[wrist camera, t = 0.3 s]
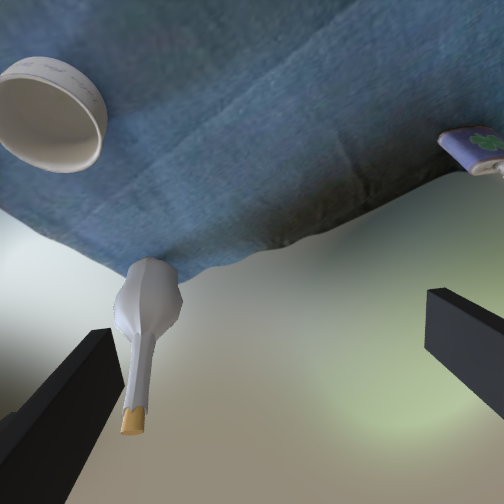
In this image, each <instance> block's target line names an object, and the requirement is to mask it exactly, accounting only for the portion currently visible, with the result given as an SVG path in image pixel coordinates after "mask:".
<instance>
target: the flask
mask: <svg viewBox="0 0 504 504" xmlns="http://www.w3.org/2000/svg"><path fill="white" fill-rule="evenodd" d="M441 136H442V137H441ZM439 137H440V138H439V139H438V141H437V142H438V143H439V145H440V146H442V147H443V149H445V150H446V151H447V152H448V153H449V154H450V155H452V156H453V158H454V159H456V160H457V161H458V162H459V163H460V164H461V165H462V166H463V167H464V168H465V169H466V170H467V171H468V172H469V173H470V174H471V175H472V176H478V175H484V174H492V173H501V174H504V139H503V138H502V137H501V136H500V135H498V134H497V133H496V132H495V131H494V130H493V129H491V128H489V127H483V126H482V127H480V126H472V127H463V128H456V129H451V130H447V131H445V132H443V133H442V134H441V135H440V136H439ZM503 178H504V175H503Z"/></svg>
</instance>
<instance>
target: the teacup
mask: <svg viewBox="0 0 504 504" xmlns="http://www.w3.org/2000/svg"><path fill="white" fill-rule="evenodd" d="M107 124H108V115H107V109H106V105H105V102H104V100H103V98H102V96H101V94H100V92H99V91H98V89H97V88H96V87H95V85H94V84H93V83H92V82H91V81H90V80H89V79H88V78H87V77H86V76H85V75H84V74H83V73H81V72H80V71H79V70H77V69H76V68H74V67H72V66H71V65H69V64H67V63H65V62H62V61H59V60H57V59H53V58H48V57H29V58H25V59H22V60H20V61H18V62H16V63H14V64H13V65H11V66H10V67H9V68H8V69H7V70H5V71H4V72H3V73H2V74H1V75H0V142H1V144H2V145H3V146H4V147H5V148H6V149H7V150H9V151H10V152H11V153H12V154H14V155H15V156H17V157H18V158H20V159H21V160H23V161H25V162H27V163H29V164H31V165H33V166H36V167H38V168H41V169H45V170H48V171H52V172H59V173H73V172H79V171H82V170H85V169H87V168H89V167H90V166H92V165H93V164H94V163H95V162H96V161H97V159H98V158H99V156H100V154H101V151H102V147H103V141H104V138H105V134H106V130H107Z"/></svg>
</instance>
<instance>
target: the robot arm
mask: <svg viewBox="0 0 504 504" xmlns="http://www.w3.org/2000/svg"><path fill="white" fill-rule="evenodd" d="M424 347H425V349H426V350H428V351H429V352H430V353H431V354H432V355H433V356H434V357H435V358H436V359H437V360H438V361H439V362H441V363H442V364H443V365H444V366H445V367H446V368H447V369H448V370H450V371H451V372H452V373H453V374H454V375H455V376H456V377H457V378H458V379H459V380H461V381H462V382H463V383H464V384H465V385H466V386H467V387H468V388H469V389H470V390H472V391H473V392H474V393H475V394H476V395H477V396H478V397H479V398H480V399H482V400H483V401H484V402H485V403H486V404H487V405H488V406H490V407H491V408H492V409H493V410H494V411H495V412H496V413H497V414H499V416H501V417H502V418H503V419H504V319H503V318H501V317H499V316H498V315H496V314H494V313H492V312H490V311H488V310H486V309H484V308H482V307H481V306H479V305H477V304H475V303H473V302H471V301H469V300H467V299H466V298H464V297H462V296H460V295H458V294H456V293H454V292H452V291H451V290H449V289H447V288H438V289H429V290H427V303H426V326H425V346H424ZM124 387H125V384H124V380H123V376H122V372H121V368H120V364H119V360H118V356H117V352H116V348H115V343H114V339H113V335H112V332H111V328H106V329H97V330H91V331H90V332H89V334H88V335H87V336H86V337H85V338H84V339H83V340H82V341H81V342H80V344H79V345H78V346H77V347H76V348H75V349H74V350H73V351H72V352H71V353H70V354H69V355H68V357H67V358H66V359H65V360H64V361H63V362H62V363H61V364H60V365H59V367H58V368H57V369H56V370H55V371H54V372H53V373H52V374H51V375H50V376H49V377H48V379H47V380H46V381H45V382H44V383H43V384H42V385H41V386H40V387H39V388H38V390H37V391H36V392H35V393H34V394H33V395H32V396H31V397H30V398H29V400H28V401H27V402H26V403H25V404H24V405H23V406H22V407H21V408H20V409H19V410H18V411H17V412H11V413H10V414H9V415H7V416H6V417H4V418H3V419H2V420H0V504H65V502H66V500H67V498H68V496H69V494H70V492H71V490H72V488H73V486H74V484H75V482H76V480H77V478H78V476H79V475H80V473H81V471H82V469H83V467H84V465H85V463H86V461H87V459H88V457H89V455H90V453H91V451H92V449H93V447H94V445H95V443H96V441H97V439H98V437H99V435H100V433H101V432H102V430H103V428H104V426H105V424H106V422H107V420H108V418H109V416H110V414H111V412H112V410H113V408H114V406H115V404H116V402H117V400H118V398H119V396H120V395H121V392H122V390H123V389H124Z"/></svg>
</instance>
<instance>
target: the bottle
mask: <svg viewBox="0 0 504 504" xmlns="http://www.w3.org/2000/svg"><path fill="white" fill-rule="evenodd" d="M182 303H183V300H182V297H181V294H180V291H179V288H178V272H177V270H176V269H174V268H173V267H172V266H171V265H170V264H168V263H166V262H164V261H161V260H157V259H154V258H152V257H145V258H143V259H141V260H139V261H137V262H135V263H133V264H132V265H131V266H130V268H129V270H128V274H127V277H126V281H125V283H124V285H123V286H122V288H121V290H120V291H119V292H118V294H117V296H116V299H115V302H114V306H113V307H114V325H115V326H116V327H117V328H118V329H119V330H120V331H121V332H122V334H123V335H124V336H125V337H126V338H127V339H128V340H129V341H130V342H131V364H130V371H129V378H128V385H127V391H126V397H125V402H124V407H123V412H122V417H124V419H123V424H122V429H121V434H122V435H138V434H141V433H143V432H144V420H145V414H146V415H147V414H148V393H149V384H150V374H151V365H152V357H153V353H154V348H155V344H156V340H158V339H159V337H161V336H162V335H163V333H165V332H166V330H168V329H169V328H170V327H171V326H172V325H173V324H174V323H175V322H176V321H177V320H178V317H179V313H180V310H181V307H182Z"/></svg>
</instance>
